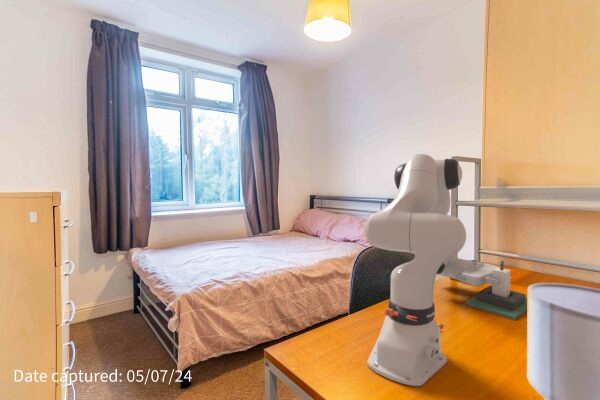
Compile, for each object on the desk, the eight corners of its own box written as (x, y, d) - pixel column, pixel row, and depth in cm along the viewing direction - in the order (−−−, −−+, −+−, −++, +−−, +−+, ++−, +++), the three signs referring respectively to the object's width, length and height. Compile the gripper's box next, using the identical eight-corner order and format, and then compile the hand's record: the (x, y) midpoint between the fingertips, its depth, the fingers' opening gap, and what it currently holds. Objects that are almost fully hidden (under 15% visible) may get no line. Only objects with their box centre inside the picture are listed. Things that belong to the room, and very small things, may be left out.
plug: (504, 304, 112) (506, 263, 111) (491, 300, 115) (493, 260, 114) (509, 301, 114) (511, 261, 113) (496, 297, 118) (497, 258, 117)
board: (514, 320, 102) (514, 308, 102) (465, 304, 115) (465, 294, 114) (536, 302, 115) (536, 292, 115) (489, 290, 128) (490, 281, 128)
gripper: (453, 268, 118) (493, 277, 107) (477, 259, 130) (514, 266, 119) (453, 284, 119) (492, 294, 108) (476, 273, 131) (514, 282, 120)
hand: (504, 279), depth 114 cm, fingers open, 8 cm apart
